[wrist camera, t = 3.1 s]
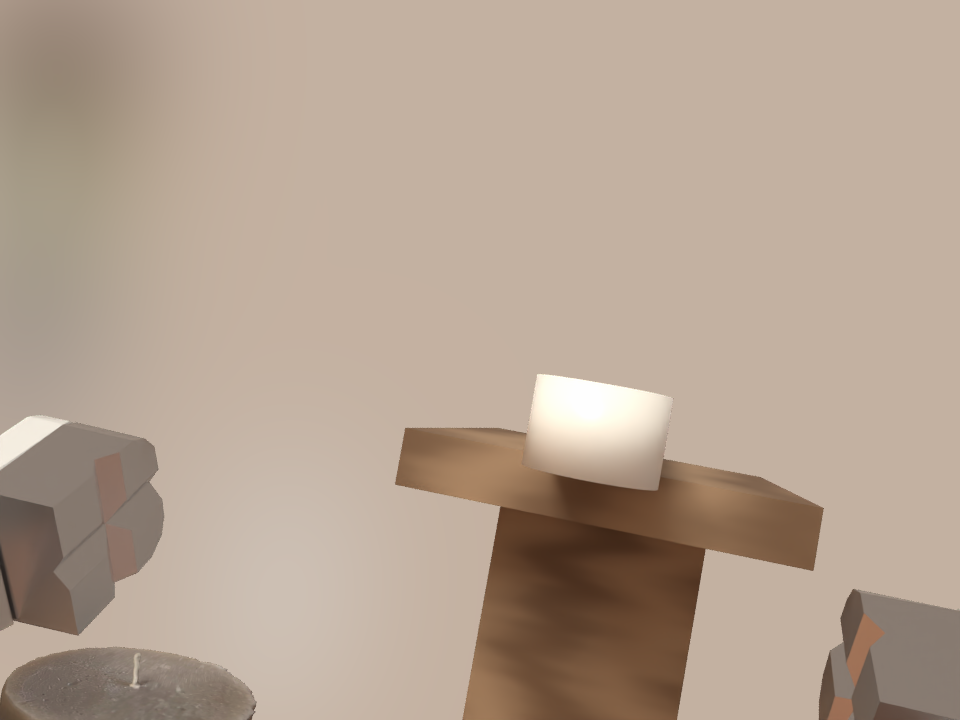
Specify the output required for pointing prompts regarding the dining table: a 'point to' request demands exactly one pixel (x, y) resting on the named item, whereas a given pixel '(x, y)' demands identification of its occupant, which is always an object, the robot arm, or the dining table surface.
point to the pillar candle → (123, 688)
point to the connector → (597, 432)
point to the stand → (596, 572)
